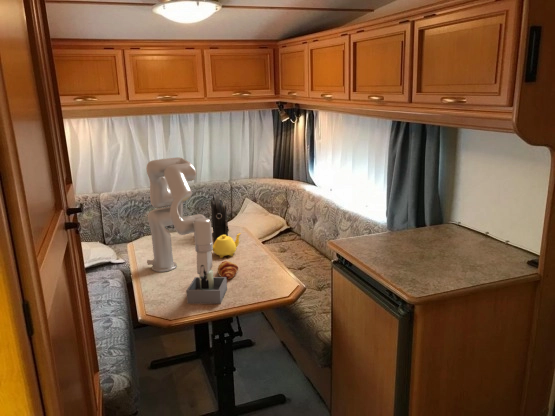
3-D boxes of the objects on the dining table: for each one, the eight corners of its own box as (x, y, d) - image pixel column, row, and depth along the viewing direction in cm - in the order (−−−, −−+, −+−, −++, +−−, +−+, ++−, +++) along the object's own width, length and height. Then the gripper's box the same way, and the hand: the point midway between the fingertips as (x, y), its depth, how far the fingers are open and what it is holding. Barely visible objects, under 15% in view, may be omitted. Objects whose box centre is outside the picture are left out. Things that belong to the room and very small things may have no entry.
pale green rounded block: (199, 291, 201) (197, 274, 199) (202, 285, 206) (200, 268, 204) (212, 291, 200) (211, 274, 198) (215, 285, 206) (214, 268, 204)
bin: (187, 303, 198) (186, 290, 196) (196, 289, 212) (194, 277, 210) (220, 303, 196) (219, 290, 195) (227, 289, 211) (226, 277, 209)
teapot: (238, 247, 267) (236, 228, 264) (245, 255, 253) (244, 235, 250) (204, 252, 260) (202, 233, 257) (210, 261, 246) (208, 241, 244)
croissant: (222, 272, 240) (214, 260, 238) (238, 262, 240) (230, 250, 238) (223, 288, 219) (214, 275, 217) (241, 277, 219) (232, 264, 217)
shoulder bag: (210, 232, 297) (207, 190, 290) (224, 231, 299) (221, 189, 292) (215, 243, 276) (212, 198, 269) (230, 241, 278) (227, 196, 271)
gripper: (200, 240, 207) (203, 277, 212) (190, 253, 190) (193, 293, 195) (216, 240, 206) (219, 277, 211) (208, 253, 190) (211, 293, 194)
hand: (207, 285), depth 203 cm, fingers closed on pale green rounded block, 6 cm apart
